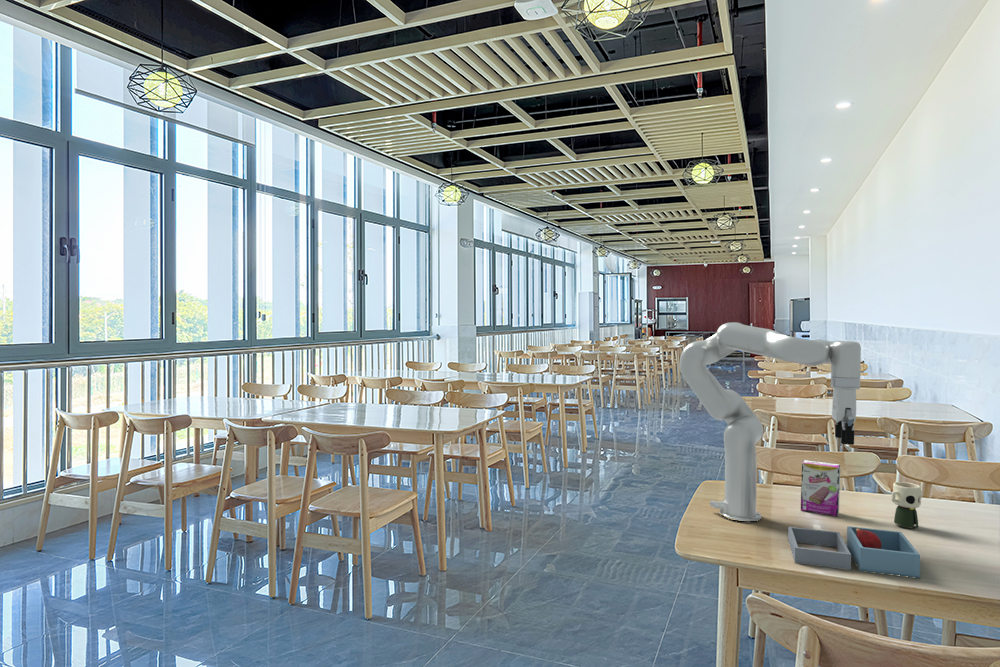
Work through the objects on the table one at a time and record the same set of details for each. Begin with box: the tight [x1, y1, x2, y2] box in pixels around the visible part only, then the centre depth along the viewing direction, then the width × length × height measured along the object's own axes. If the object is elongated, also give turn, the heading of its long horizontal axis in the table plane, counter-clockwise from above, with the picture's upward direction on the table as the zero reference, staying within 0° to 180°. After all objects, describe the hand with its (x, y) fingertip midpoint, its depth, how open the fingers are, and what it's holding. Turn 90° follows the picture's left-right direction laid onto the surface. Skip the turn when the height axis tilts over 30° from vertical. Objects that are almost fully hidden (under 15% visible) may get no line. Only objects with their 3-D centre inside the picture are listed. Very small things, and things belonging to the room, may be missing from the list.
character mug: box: [891, 481, 923, 529], centre depth 187 cm, size 11×7×13 cm, turn 103°
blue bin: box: [846, 525, 921, 579], centre depth 160 cm, size 13×17×6 cm
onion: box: [856, 528, 881, 549], centre depth 162 cm, size 6×6×8 cm
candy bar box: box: [800, 459, 841, 517], centre depth 200 cm, size 11×5×16 cm, turn 58°
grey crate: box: [787, 526, 852, 571], centre depth 165 cm, size 13×17×4 cm
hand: (844, 440), depth 178 cm, fingers open, 9 cm apart
